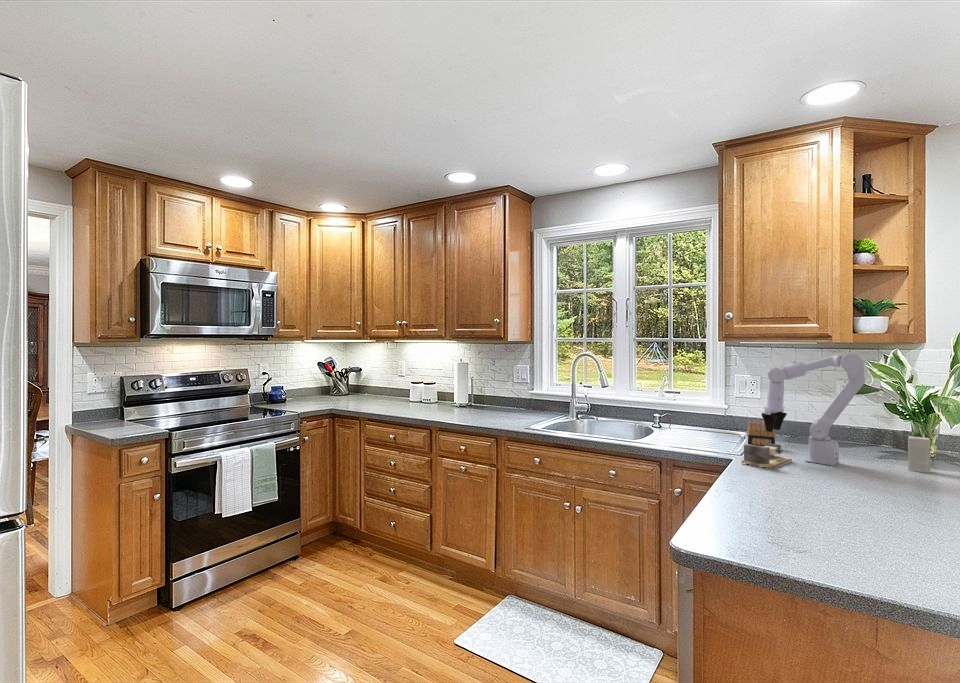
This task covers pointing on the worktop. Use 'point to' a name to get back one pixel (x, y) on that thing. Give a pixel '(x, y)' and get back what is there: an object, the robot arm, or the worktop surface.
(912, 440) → the skincare box
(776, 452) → the gauge ram
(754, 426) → the ammunition clip
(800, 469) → the worktop surface
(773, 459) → the gauge bench
